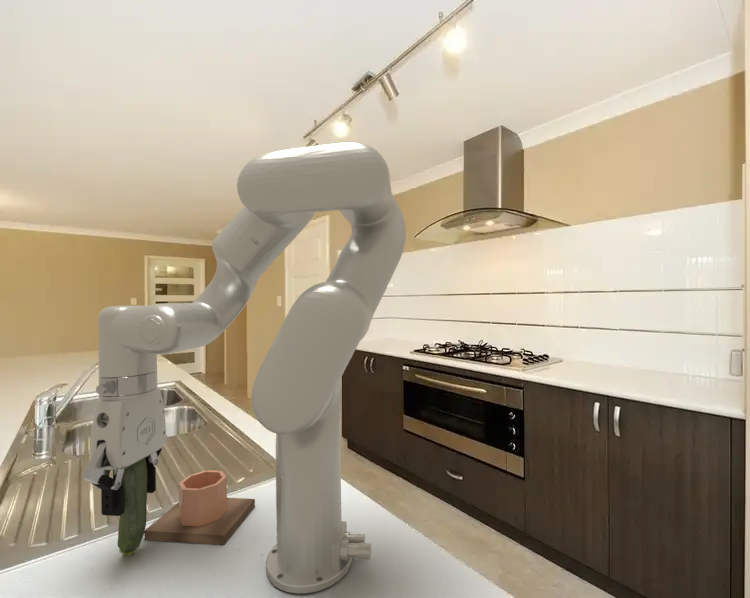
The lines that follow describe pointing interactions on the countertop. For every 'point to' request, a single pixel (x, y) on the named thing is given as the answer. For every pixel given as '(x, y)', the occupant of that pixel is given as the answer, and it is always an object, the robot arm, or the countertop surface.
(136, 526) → the vegetable
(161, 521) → the stand
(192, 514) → the cup
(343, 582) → the countertop surface
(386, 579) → the countertop surface
